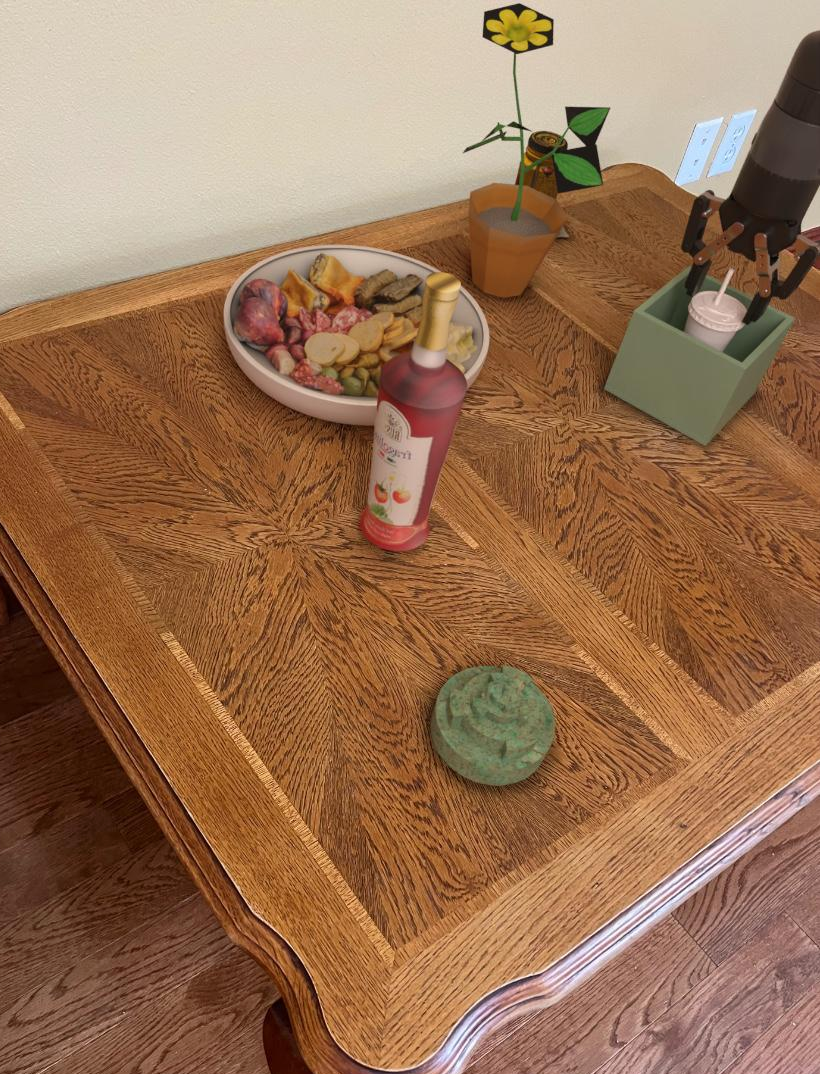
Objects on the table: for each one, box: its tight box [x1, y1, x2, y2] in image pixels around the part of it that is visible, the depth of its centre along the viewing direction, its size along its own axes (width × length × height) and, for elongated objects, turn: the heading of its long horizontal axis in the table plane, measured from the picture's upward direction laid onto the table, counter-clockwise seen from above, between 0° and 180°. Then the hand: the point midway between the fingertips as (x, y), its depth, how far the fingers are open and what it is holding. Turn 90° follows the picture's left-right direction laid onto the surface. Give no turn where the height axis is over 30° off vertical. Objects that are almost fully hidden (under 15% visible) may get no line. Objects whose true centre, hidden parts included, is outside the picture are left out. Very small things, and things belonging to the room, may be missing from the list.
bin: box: [603, 265, 796, 447], centre depth 108 cm, size 14×14×11 cm
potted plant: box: [461, 2, 611, 299], centre depth 111 cm, size 18×19×30 cm
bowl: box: [223, 244, 490, 427], centre depth 106 cm, size 30×30×8 cm
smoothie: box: [684, 267, 747, 352], centre depth 105 cm, size 6×6×14 cm
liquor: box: [359, 271, 468, 552], centre depth 81 cm, size 7×7×28 cm
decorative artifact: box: [430, 664, 556, 787], centre depth 77 cm, size 10×7×10 cm
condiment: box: [514, 130, 570, 238], centre depth 128 cm, size 7×8×12 cm
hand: (719, 306), depth 103 cm, fingers closed on smoothie, 6 cm apart
